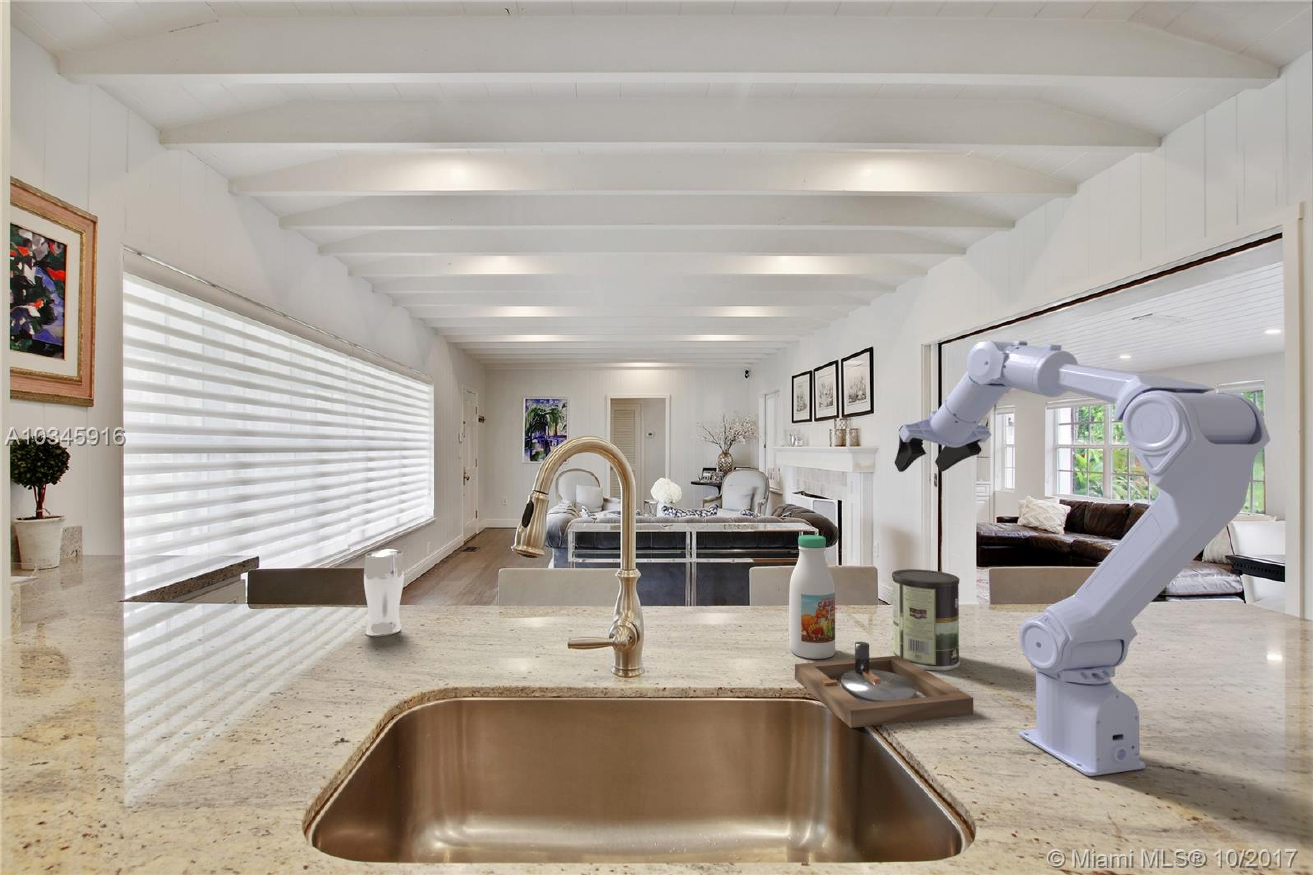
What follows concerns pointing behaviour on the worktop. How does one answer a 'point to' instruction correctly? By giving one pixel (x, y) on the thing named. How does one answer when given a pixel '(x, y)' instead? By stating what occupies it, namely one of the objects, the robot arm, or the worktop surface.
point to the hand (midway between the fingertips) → (919, 466)
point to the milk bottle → (812, 602)
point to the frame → (936, 704)
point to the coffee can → (926, 618)
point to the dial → (874, 681)
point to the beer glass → (383, 591)
